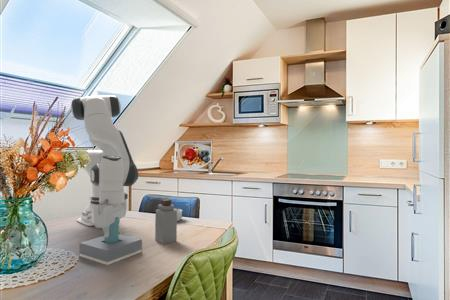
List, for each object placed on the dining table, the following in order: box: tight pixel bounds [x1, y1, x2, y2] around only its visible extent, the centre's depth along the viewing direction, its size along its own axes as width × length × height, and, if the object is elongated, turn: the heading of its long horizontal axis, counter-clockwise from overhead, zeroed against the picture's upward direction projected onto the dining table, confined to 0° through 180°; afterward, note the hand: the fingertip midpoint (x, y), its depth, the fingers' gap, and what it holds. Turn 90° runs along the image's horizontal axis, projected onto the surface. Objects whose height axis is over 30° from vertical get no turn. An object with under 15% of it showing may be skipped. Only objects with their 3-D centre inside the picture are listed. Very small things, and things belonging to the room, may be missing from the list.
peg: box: [104, 217, 120, 244], centre depth 118 cm, size 4×4×12 cm
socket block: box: [79, 233, 143, 266], centre depth 118 cm, size 16×16×5 cm
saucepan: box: [174, 206, 183, 222], centre depth 177 cm, size 12×20×6 cm, turn 7°
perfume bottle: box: [154, 198, 178, 245], centre depth 135 cm, size 7×7×18 cm
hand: (111, 233), depth 118 cm, fingers closed on peg, 6 cm apart
